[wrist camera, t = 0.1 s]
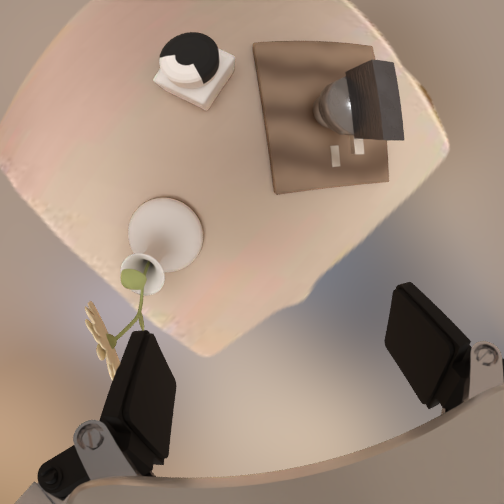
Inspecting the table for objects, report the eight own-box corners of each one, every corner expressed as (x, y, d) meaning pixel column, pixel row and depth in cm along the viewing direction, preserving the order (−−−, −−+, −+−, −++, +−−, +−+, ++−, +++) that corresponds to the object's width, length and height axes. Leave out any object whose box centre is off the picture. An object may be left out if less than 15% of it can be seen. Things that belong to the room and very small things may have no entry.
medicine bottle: (191, 50, 29) (178, 16, 18) (234, 70, 31) (238, 42, 20) (164, 90, 32) (138, 71, 21) (207, 111, 34) (199, 98, 23)
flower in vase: (137, 188, 37) (34, 258, 14) (211, 204, 39) (192, 301, 16) (127, 266, 41) (59, 382, 18) (193, 282, 43) (172, 415, 20)
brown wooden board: (252, 47, 30) (257, 29, 24) (366, 49, 31) (388, 37, 24) (274, 192, 39) (284, 202, 32) (382, 179, 39) (407, 188, 33)
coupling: (313, 78, 26) (348, 57, 17) (365, 80, 27) (412, 65, 17) (324, 154, 30) (363, 162, 21) (374, 151, 30) (422, 160, 21)
